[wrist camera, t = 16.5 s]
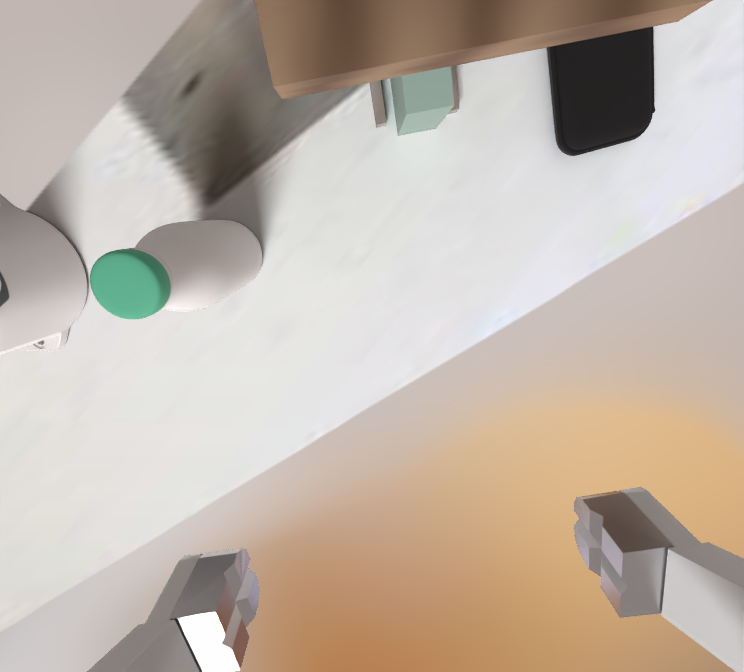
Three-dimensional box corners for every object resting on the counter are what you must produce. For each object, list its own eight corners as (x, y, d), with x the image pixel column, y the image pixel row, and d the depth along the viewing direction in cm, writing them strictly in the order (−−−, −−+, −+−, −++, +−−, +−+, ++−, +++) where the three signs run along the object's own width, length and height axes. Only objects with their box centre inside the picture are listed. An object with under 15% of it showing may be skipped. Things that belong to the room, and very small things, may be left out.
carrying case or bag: (651, 134, 40) (647, -33, 36) (673, 128, 37) (672, -54, 33) (552, 162, 41) (536, 1, 36) (566, 158, 38) (550, -17, 34)
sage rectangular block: (398, 135, 40) (406, 114, 31) (385, 47, 37) (391, -3, 29) (435, 128, 39) (454, 105, 31) (425, 39, 37) (443, -14, 28)
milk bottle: (242, 207, 42) (138, 203, 23) (276, 271, 44) (206, 315, 25) (183, 237, 43) (35, 256, 24) (219, 297, 45) (110, 360, 26)
